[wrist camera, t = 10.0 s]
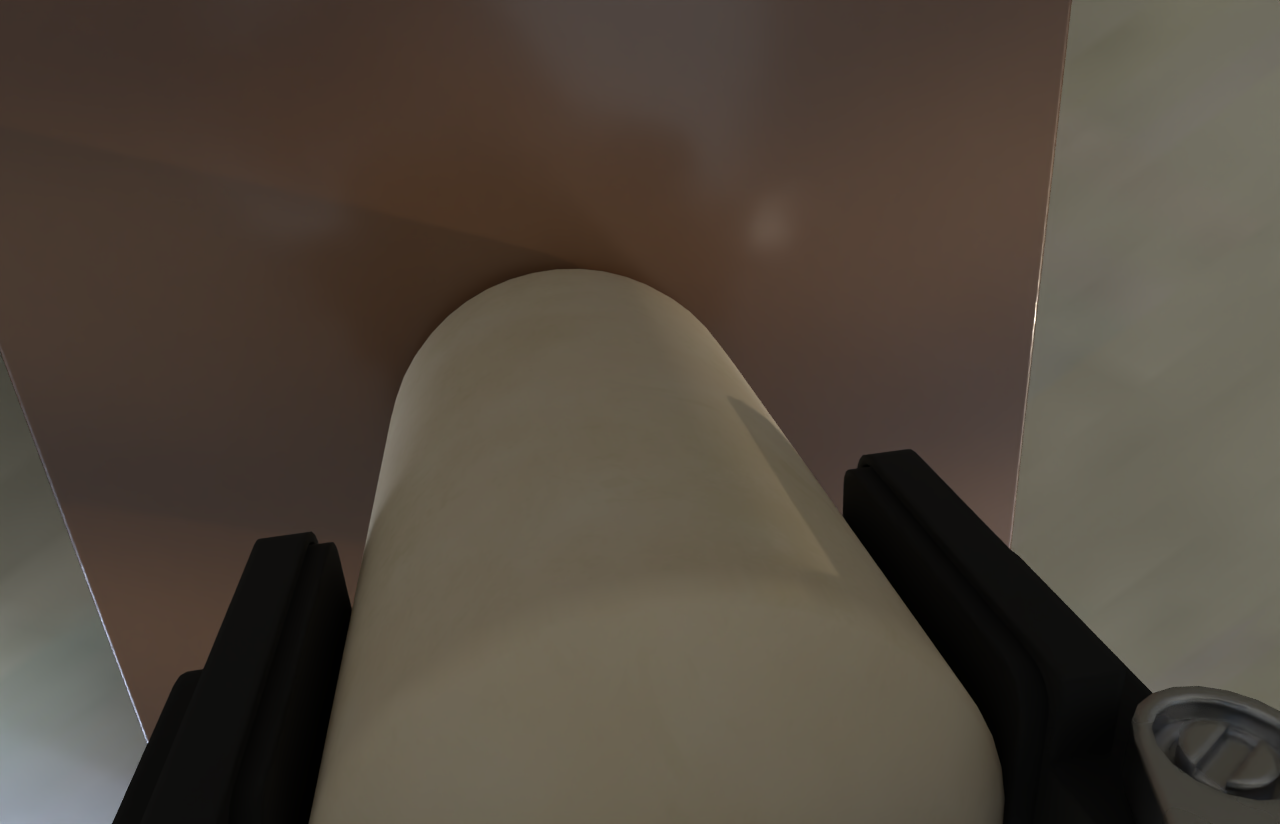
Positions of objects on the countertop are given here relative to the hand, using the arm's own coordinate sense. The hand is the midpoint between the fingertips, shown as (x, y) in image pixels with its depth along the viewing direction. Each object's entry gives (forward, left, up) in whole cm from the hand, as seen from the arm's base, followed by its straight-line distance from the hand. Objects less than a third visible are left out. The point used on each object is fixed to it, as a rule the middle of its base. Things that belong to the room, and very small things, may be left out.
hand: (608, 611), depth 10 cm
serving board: (0, 0, -8) cm, 8 cm away
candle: (0, 0, -5) cm, 5 cm away
